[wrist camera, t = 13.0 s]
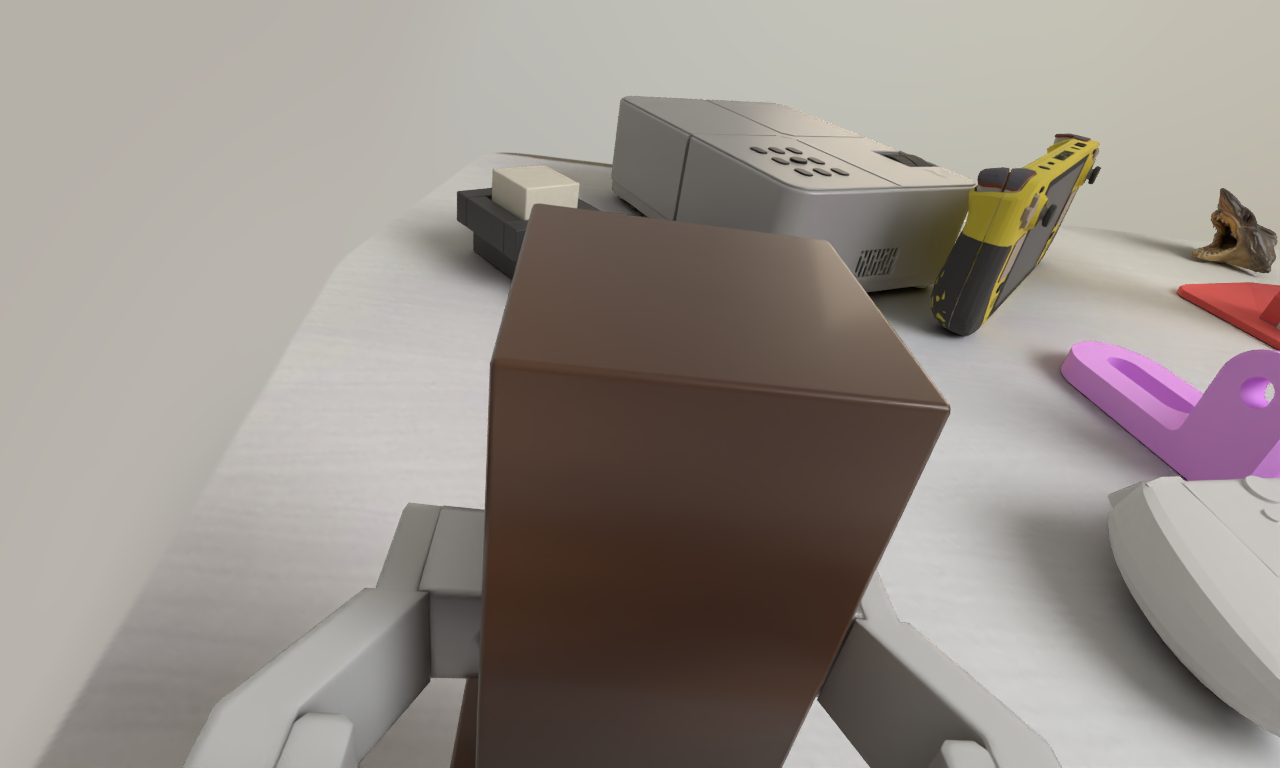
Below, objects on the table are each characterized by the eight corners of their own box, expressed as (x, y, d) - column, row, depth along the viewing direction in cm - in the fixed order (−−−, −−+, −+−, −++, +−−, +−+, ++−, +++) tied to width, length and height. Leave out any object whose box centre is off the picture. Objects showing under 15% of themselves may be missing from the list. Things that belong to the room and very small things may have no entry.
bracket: (1319, 509, 32) (1431, 384, 28) (1223, 509, 31) (1327, 380, 27) (1117, 362, 43) (1180, 258, 39) (1040, 359, 42) (1098, 251, 38)
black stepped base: (556, 332, 36) (562, 261, 34) (454, 253, 42) (454, 189, 40) (683, 299, 42) (695, 236, 39) (575, 234, 48) (581, 177, 46)
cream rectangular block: (524, 225, 38) (526, 188, 37) (491, 203, 40) (492, 168, 39) (576, 218, 40) (580, 183, 39) (542, 197, 43) (544, 164, 42)
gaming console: (977, 356, 41) (1055, 190, 35) (909, 328, 43) (973, 167, 37) (1058, 261, 59) (1118, 141, 54) (1007, 244, 61) (1060, 127, 55)
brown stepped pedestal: (431, 967, 11) (410, 388, 5) (479, 681, 15) (498, 183, 9) (739, 968, 11) (1040, 449, 6) (703, 692, 16) (854, 230, 10)
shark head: (1206, 273, 62) (1252, 199, 58) (1153, 246, 67) (1193, 177, 64) (1279, 280, 63) (1328, 209, 60) (1222, 253, 69) (1264, 186, 65)
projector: (763, 316, 41) (798, 187, 37) (601, 192, 57) (613, 91, 52) (946, 290, 49) (992, 182, 45) (760, 188, 64) (781, 100, 60)
